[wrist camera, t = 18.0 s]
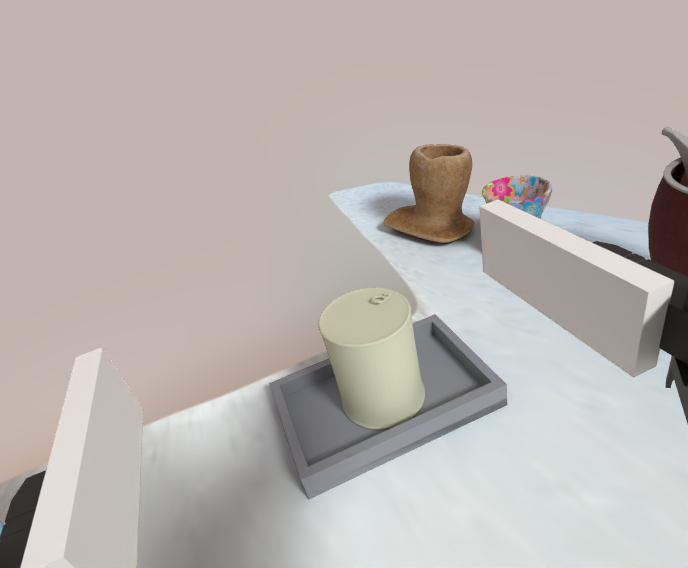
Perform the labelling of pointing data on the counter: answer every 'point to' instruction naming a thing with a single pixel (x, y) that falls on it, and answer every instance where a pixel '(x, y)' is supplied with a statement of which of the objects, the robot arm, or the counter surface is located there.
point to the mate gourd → (671, 211)
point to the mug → (520, 193)
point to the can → (374, 357)
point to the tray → (384, 445)
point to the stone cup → (436, 194)
